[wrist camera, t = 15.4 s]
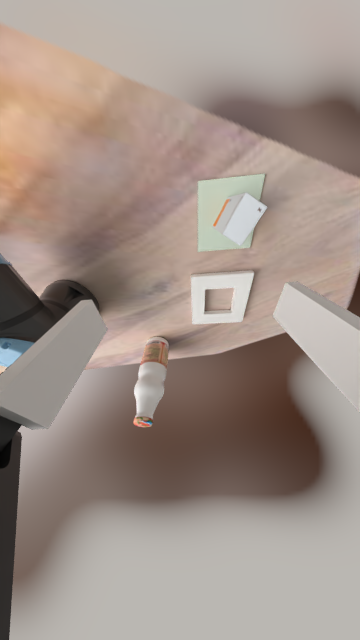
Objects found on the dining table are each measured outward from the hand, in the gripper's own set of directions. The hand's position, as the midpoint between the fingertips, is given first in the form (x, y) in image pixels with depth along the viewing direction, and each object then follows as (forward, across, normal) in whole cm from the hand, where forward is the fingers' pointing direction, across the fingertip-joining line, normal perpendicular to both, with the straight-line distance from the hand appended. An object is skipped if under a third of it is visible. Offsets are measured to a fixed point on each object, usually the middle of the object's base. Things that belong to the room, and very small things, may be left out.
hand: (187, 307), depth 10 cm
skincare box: (+30, +11, +3) cm, 33 cm away
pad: (+31, +11, +3) cm, 33 cm away
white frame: (+31, +11, -18) cm, 37 cm away
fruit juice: (+32, -13, -37) cm, 51 cm away
